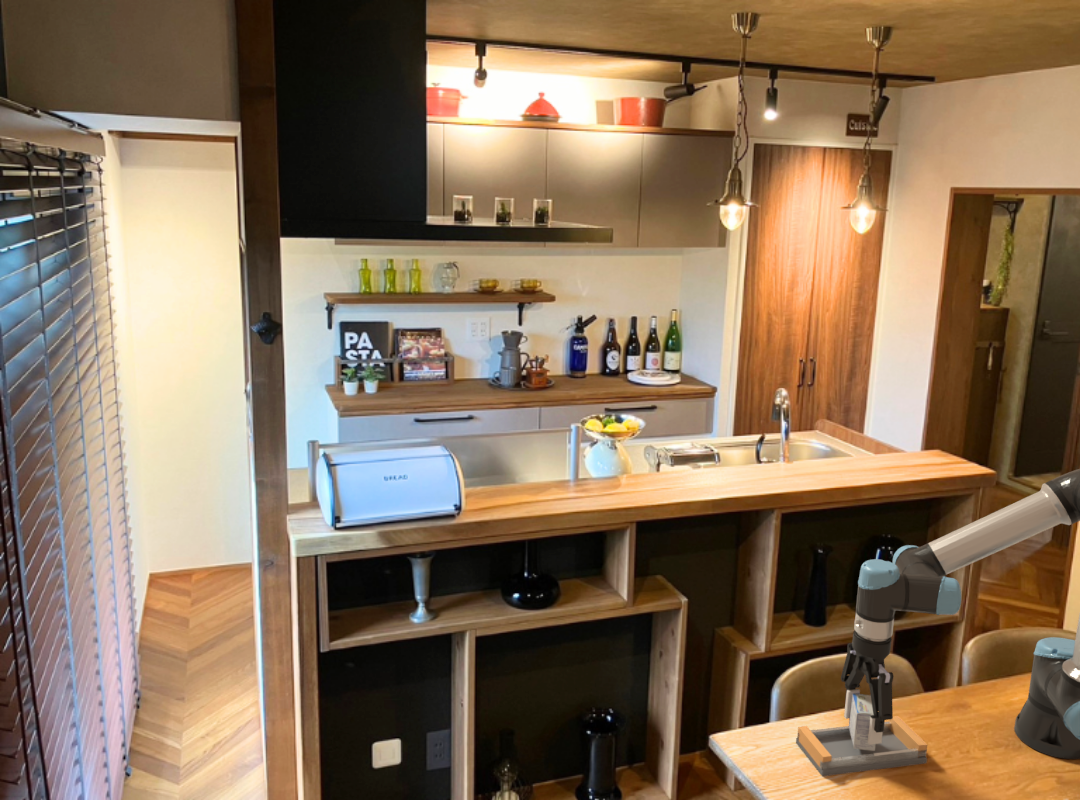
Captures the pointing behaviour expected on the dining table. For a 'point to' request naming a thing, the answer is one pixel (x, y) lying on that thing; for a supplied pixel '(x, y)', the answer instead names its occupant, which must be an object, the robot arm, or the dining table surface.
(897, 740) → the grey shallow tray
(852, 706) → the medicine box
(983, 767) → the dining table surface
